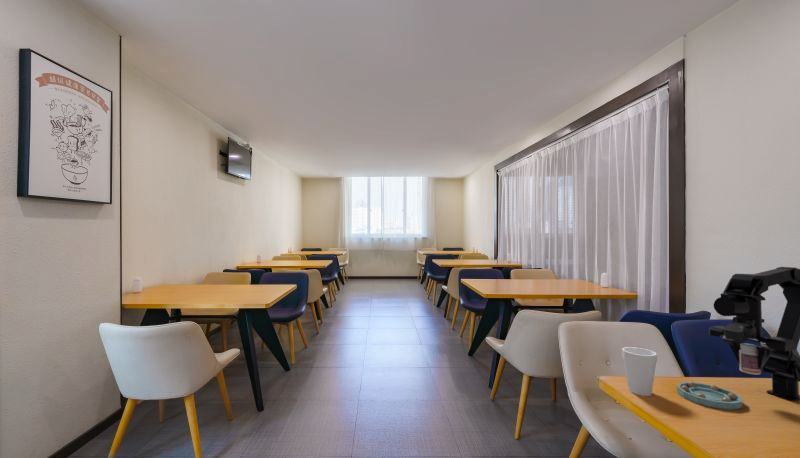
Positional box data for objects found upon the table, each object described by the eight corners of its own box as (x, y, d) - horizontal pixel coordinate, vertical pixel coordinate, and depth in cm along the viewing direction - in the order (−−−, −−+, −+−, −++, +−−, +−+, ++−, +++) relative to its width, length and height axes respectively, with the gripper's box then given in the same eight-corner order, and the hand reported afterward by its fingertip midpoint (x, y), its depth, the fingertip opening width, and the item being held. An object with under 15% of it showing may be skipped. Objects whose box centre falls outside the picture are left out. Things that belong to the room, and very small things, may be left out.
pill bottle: (765, 375, 104) (764, 347, 105) (746, 374, 105) (746, 346, 106) (752, 370, 109) (752, 343, 109) (735, 368, 110) (734, 342, 110)
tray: (698, 385, 118) (697, 377, 118) (754, 405, 104) (754, 396, 104) (666, 391, 113) (666, 382, 113) (720, 413, 99) (720, 403, 99)
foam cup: (651, 388, 116) (651, 348, 116) (662, 399, 107) (661, 357, 108) (619, 384, 119) (618, 345, 119) (627, 395, 110) (626, 354, 111)
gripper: (697, 310, 114) (698, 358, 114) (771, 323, 97) (773, 379, 96) (719, 308, 118) (720, 355, 117) (796, 320, 100) (797, 375, 99)
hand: (749, 365), depth 107 cm, fingers closed on pill bottle, 5 cm apart
